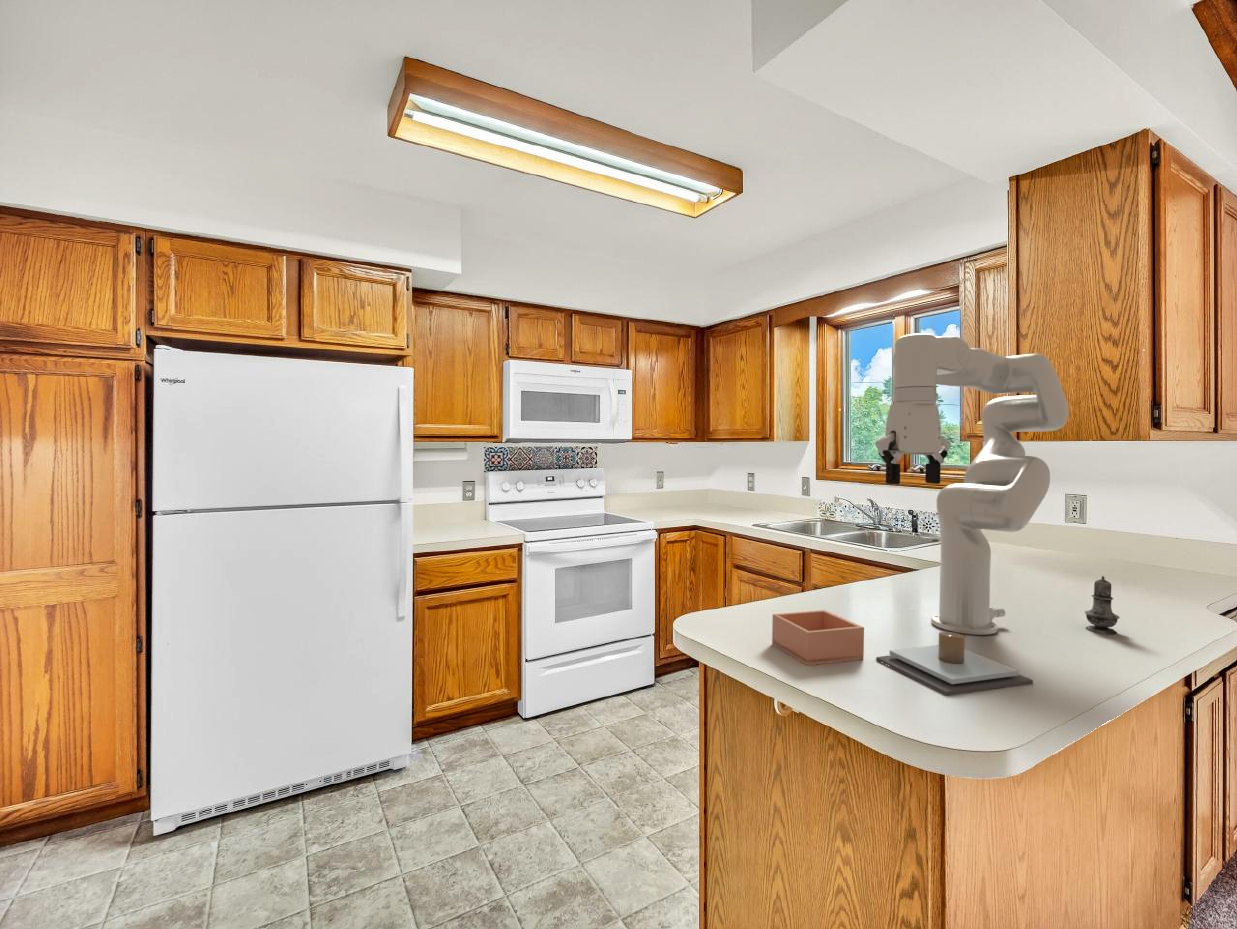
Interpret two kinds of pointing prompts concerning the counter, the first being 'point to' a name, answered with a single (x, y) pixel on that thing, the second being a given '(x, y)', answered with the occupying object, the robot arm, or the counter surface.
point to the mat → (947, 687)
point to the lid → (953, 661)
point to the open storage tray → (818, 637)
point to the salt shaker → (1102, 609)
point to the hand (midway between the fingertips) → (912, 483)
